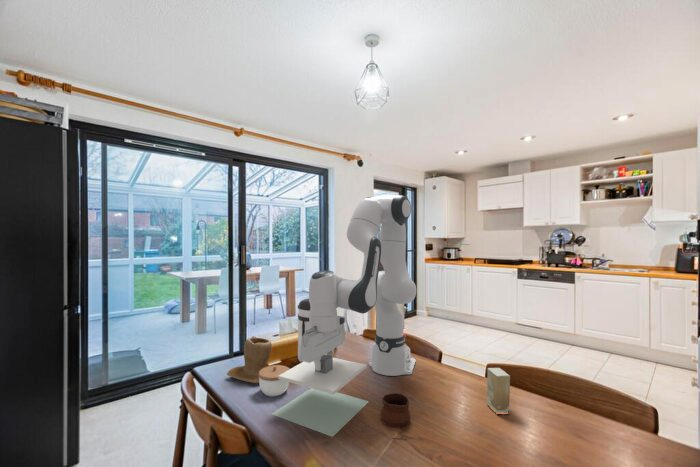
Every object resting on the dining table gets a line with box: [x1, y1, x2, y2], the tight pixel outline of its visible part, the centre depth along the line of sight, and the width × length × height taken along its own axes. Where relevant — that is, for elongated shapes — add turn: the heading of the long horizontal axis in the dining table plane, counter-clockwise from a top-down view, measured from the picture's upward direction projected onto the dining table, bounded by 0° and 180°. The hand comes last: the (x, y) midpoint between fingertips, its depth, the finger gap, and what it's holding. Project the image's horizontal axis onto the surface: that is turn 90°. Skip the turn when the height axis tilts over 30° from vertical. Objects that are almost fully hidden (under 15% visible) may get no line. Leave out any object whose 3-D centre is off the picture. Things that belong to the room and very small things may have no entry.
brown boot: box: [226, 336, 272, 384], centre depth 124 cm, size 15×12×15 cm
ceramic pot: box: [380, 392, 415, 441], centre depth 96 cm, size 18×18×7 cm
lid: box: [278, 354, 368, 394], centre depth 102 cm, size 20×20×5 cm
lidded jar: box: [258, 364, 291, 397], centre depth 112 cm, size 11×11×9 cm
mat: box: [271, 388, 370, 438], centre depth 102 cm, size 22×22×1 cm
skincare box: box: [486, 367, 511, 412], centre depth 102 cm, size 6×4×12 cm
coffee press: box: [297, 298, 327, 363], centre depth 138 cm, size 17×16×30 cm
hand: (324, 366), depth 102 cm, fingers closed on lid, 4 cm apart
